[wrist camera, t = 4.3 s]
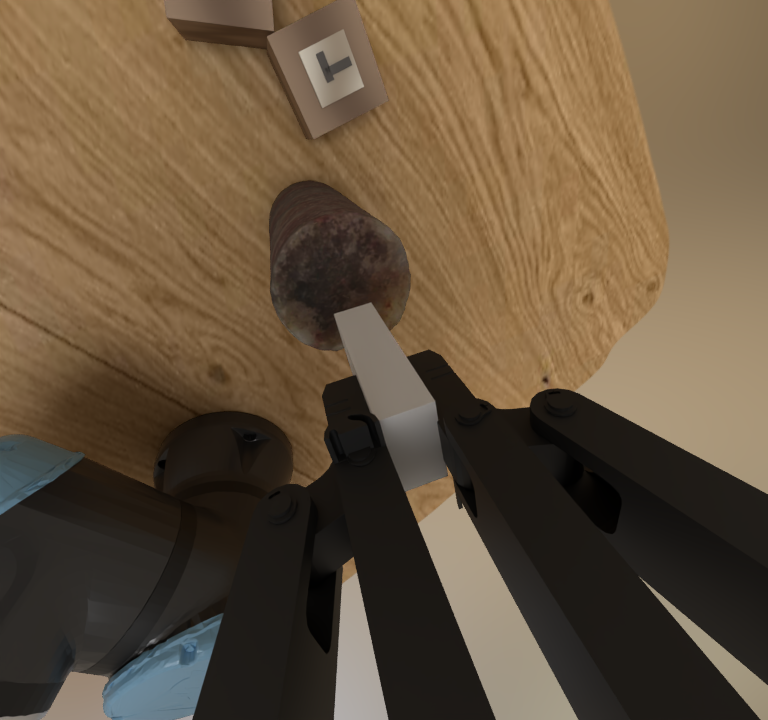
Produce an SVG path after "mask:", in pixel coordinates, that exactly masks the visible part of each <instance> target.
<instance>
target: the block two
mask: <svg viewBox="0 0 768 720" xmlns="http://www.w3.org/2000/svg"><path fill="white" fill-rule="evenodd" d="M267 55H268V57H269V59H270V62H271V64H272V66H273V68H274V70H275V72H276V74H277V77H278V79H279V81H280V83H281V85H282V87H283V89H284V92H285V94H286V96H287V98H288V100H289V102H290V105H291V107H292V109H293V111H294V113H295V115H296V117H297V120H298V122H299V124H300V126H301V128H302V130H303V132H304V135H305V137H306V139H315V138H317V137H319V136H321V135H323V134H325V133H327V132H329V131H331V130H333V129H335V128H337V127H339V126H341V125H343V124H344V123H346V122H348V121H350V120H352V119H354V118H356V117H358V116H360V115H362V114H364V113H366V112H368V111H370V110H372V109H374V108H375V107H377V106H379V105H381V104H383V103H385V102H387V101H389V99H388V96H387V93H386V90H385V87H384V84H383V81H382V78H381V75H380V72H379V69H378V66H377V63H376V60H375V57H374V54H373V51H372V48H371V45H370V42H369V39H368V37H367V34H366V31H365V28H364V25H363V22H362V19H361V16H360V13H359V10H358V7H357V4H356V1H355V0H337V1H335V2H333V3H331V4H329V5H327V6H325V7H323V8H321V9H319V10H317V11H315V12H313V13H311V14H309V15H307V16H306V17H304V18H302V19H300V20H298V21H296V22H294V23H292V24H290V25H288V26H286V27H284V28H282V29H280V30H278V31H276V32H275V33H273V34H271V35H269V36H267Z"/></svg>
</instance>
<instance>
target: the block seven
mask: <svg viewBox="0 0 768 720" xmlns="http://www.w3.org/2000/svg"><path fill="white" fill-rule="evenodd" d="M164 5H165V10H166V16H167V18H168V20H169V21H170V22H171V23H172V24H173V26H174V27H175V28H176V29H177V30H178V32H179V33H180V34H181V35H182V36H183V38H184V39H185V40H191V41H199V42H208V43H217V44H226V45H235V46H244V47H252V48H261V49H267V36H269V35H271V34H273V33H274V23H273V9H272V0H164Z"/></svg>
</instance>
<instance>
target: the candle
mask: <svg viewBox="0 0 768 720" xmlns="http://www.w3.org/2000/svg"><path fill="white" fill-rule="evenodd" d="M269 233H270V251H271V252H270V270H271V281H270V293H271V298H272V302H273V305H274V308H275V310H276V313H277V315H278V317H279V319H280V321H281V322H282V324H283V325H284V326H285V327H286V328H287V330H288V331H289V332H290V333H291V334H292V335H293V336H294V337H296V338H297V339H298V340H299V341H301V342H302V343H304V344H306V345H309V346H311V347H314V348H317V349H319V350H332V351H338V350H341V349H343V348H344V345H343V342H342V339H341V336H340V332H339V329H338V326H337V323H336V320H335V316H334V314H336V313H339V312H342V311H345V310H348V309H352V308H355V307H358V306H361V305H365V304H368V303H372V305H373V306H374V308H375V309H376V311H377V312H378V314H379V315H380V317H381V318H382V320H383V322H384V323H385V325H386V326H387V328H388V329H389V331H390V330H391V329H392V328H393V327H394V326H395V325H397V323H398V322H399V321H400V319H401V317H402V314H403V312H404V310H405V306H406V302H407V299H408V296H409V291H410V277H411V274H410V272H409V264H408V261H407V256H406V252H405V249H404V247H403V245H402V243H401V240H400V238H399V237H398V236H397V235H396V234H395V233H394V232H393V231H392V230H391V229H390V228H389V227H388V226H387V225H385V224H384V223H382V222H381V221H379V220H378V219H376V218H374V217H373V216H371V215H370V214H369V213H367V212H366V211H364V210H363V209H361V208H360V207H358V206H357V205H356V204H354V203H353V202H352V201H350V200H349V199H348V198H346V197H345V196H343V195H342V194H341V193H339V192H338V191H336V190H335V189H333V188H331V187H330V186H328V185H326V184H324V183H320V182H316V181H302V182H298V183H295V184H292V185H290V186H289V187H287V188H286V189H284V190H283V191H282V192H281V193H280V194H279V195H278V197H277V198H276V200H275V201H274V203H273V206H272V208H271V211H270V219H269Z"/></svg>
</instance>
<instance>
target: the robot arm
mask: <svg viewBox="0 0 768 720" xmlns="http://www.w3.org/2000/svg"><path fill="white" fill-rule="evenodd" d="M334 316H335V320H336V323H337V326H338V329H339V332H340V336H341V339H342V342H343V345H344V349H345V352H346V355H347V358H348V361H349V365H350V368H351V371H352V374H353V376H351V377H348V378H345V379H342V380H339V381H336V382H333V383H330V384H327V385H326V387H325V390H324V392H323V395H322V398H323V403H324V407H325V412H326V416H327V421H328V427H327V429H326V430H325V433H324V441H325V444H326V446H327V448H328V451H329V453H330V456H331V458H332V463H331V465H330V467H329V469H328V470H327V471H326V472H325V473H324V474H323V475H322V476H321V477H320V478H319V479H317V480H316V481H315V482H313V483H312V484H310V485H309V486H307V487H306V488H305V487H302V486H300V485H298V484H289V483H290V480H291V477H292V472H293V459H292V450H291V446H290V443H289V441H288V439H287V438H286V436H285V435H284V434H283V432H282V431H281V430H280V429H279V428H277V427H276V426H275V425H273V424H272V423H270V422H269V421H267V420H265V419H262V418H260V417H257V416H254V415H250V414H246V413H239V412H218V413H211V414H206V415H202V416H199V417H196V418H194V419H191V420H189V421H187V422H185V423H183V424H182V425H180V426H179V427H177V428H176V429H175V430H173V431H172V432H171V433H170V434H169V435H168V436H167V437H166V439H165V440H164V442H163V443H162V445H161V447H160V450H159V453H158V455H157V458H156V461H155V465H154V471H153V480H154V487H155V488H153V487H150V486H148V485H146V484H144V483H142V482H139V481H137V480H135V479H133V478H130V477H128V476H126V475H124V474H121V473H119V472H117V471H115V470H112V469H110V468H108V467H106V466H103V465H101V464H99V463H97V462H94V461H92V460H90V459H88V458H85V457H84V456H85V454H84V453H82V452H71V451H69V450H66V449H63V448H61V447H58V446H55V445H53V444H50V443H47V442H45V441H42V440H40V439H37V438H35V437H31V436H28V435H20V434H14V435H6V436H2V437H0V720H40V719H42V718H43V717H44V716H45V715H46V713H47V712H48V710H49V709H50V707H51V705H52V703H53V701H54V700H55V698H56V696H57V694H58V692H59V690H60V689H61V687H62V685H63V683H64V681H65V680H66V678H67V676H68V675H69V673H70V672H71V671H72V672H79V673H86V674H94V675H102V676H106V677H108V678H109V681H108V683H107V684H106V685H105V687H104V690H103V693H102V695H103V696H102V697H103V699H104V703H103V709H104V713H105V714H106V715H107V717H111V719H112V720H175V719H179V718H183V717H186V716H190V715H193V714H194V716H193V719H192V720H334V707H335V690H336V673H337V656H338V637H339V623H340V622H339V621H340V606H341V605H340V604H341V589H342V588H341V587H342V572H343V566H342V565H344V564H345V563H346V562H347V561H349V560H350V559H351V558H352V557H354V560H355V565H356V570H357V574H358V579H359V584H360V588H361V593H362V597H363V602H364V607H365V612H366V616H367V621H368V625H369V630H370V635H371V640H372V644H373V649H374V654H375V658H376V663H377V667H378V672H379V677H380V682H381V687H382V691H383V696H384V701H385V705H386V710H387V714H388V719H389V720H496V719H495V716H494V714H493V712H492V709H491V706H490V704H489V701H488V699H487V696H486V694H485V691H484V689H483V687H482V684H481V681H480V679H479V676H478V674H477V671H476V669H475V666H474V664H473V661H472V659H471V656H470V654H469V651H468V649H467V646H466V644H465V641H464V639H463V636H462V634H461V631H460V629H459V626H458V624H457V621H456V619H455V617H454V614H453V611H452V609H451V606H450V603H449V601H448V599H447V596H446V594H445V591H444V588H443V586H442V583H441V581H440V578H439V576H438V574H437V571H436V569H435V566H434V564H433V561H432V559H431V556H430V553H429V551H428V548H427V546H426V543H425V541H424V538H423V536H422V533H421V531H420V528H419V526H418V523H417V521H416V518H415V516H414V513H413V511H412V508H411V506H410V503H409V501H408V498H407V496H406V493H405V492H406V491H408V490H411V489H414V488H416V487H419V486H422V485H424V484H427V483H430V482H432V481H435V480H438V479H440V478H443V477H446V476H448V473H447V468H446V465H447V467H448V469H449V470H450V472H451V474H452V476H453V480H454V487H455V493H456V499H457V504H458V507H459V509H461V508H463V506H462V503H463V505H464V507H465V509H466V511H467V513H468V515H469V517H470V518H471V520H472V522H473V524H474V526H475V528H476V529H477V531H478V533H479V535H480V537H481V539H482V541H483V543H484V544H485V546H486V548H487V550H488V552H489V554H490V556H491V557H492V559H493V561H494V563H495V565H496V567H497V569H498V571H499V572H500V574H501V576H502V578H503V580H504V582H505V584H506V585H507V587H508V589H509V591H510V593H511V595H512V597H513V599H514V600H515V602H516V604H517V606H518V608H519V610H520V612H521V613H522V615H523V617H524V619H525V621H526V623H527V624H528V626H529V628H530V630H531V632H532V634H533V636H534V638H535V639H536V641H537V643H538V645H539V647H540V649H541V651H542V653H543V654H544V656H545V658H546V660H547V662H548V664H549V666H550V667H551V669H552V671H553V673H554V675H555V677H556V678H557V680H558V682H559V684H560V686H561V688H562V690H563V692H564V694H565V695H566V697H567V699H568V701H569V703H570V705H571V706H572V708H573V710H574V712H575V714H576V716H577V718H578V719H579V720H760V719H759V717H758V716H757V715H756V714H755V713H754V712H753V710H752V709H751V708H750V707H749V706H748V704H747V703H746V702H745V701H744V700H743V699H742V697H741V696H740V695H739V694H738V693H737V692H736V690H735V689H734V688H733V687H732V686H731V684H730V683H729V682H728V681H727V680H726V679H725V678H724V676H723V675H722V674H721V673H720V671H719V670H718V669H717V668H716V667H715V666H714V664H713V663H712V662H711V661H710V660H709V659H708V657H707V656H706V655H705V654H704V653H703V651H702V650H701V649H700V648H699V647H698V646H697V645H696V643H695V642H694V641H693V640H692V639H691V637H690V636H689V635H688V634H687V633H686V632H685V630H684V629H683V628H682V627H681V626H680V625H679V623H678V622H677V621H676V620H675V619H674V617H673V616H672V615H671V614H670V613H669V612H668V610H667V609H666V608H665V607H664V606H663V605H662V603H661V602H660V601H659V600H658V599H657V598H656V596H655V595H654V594H653V593H652V592H651V590H650V589H649V588H648V587H647V586H646V584H645V583H644V582H643V581H642V580H641V579H640V577H641V578H642V579H643V580H644V581H645V582H647V583H648V584H649V585H650V586H651V587H652V588H654V589H655V590H656V591H657V592H658V593H659V594H661V595H662V596H663V597H664V598H665V599H666V600H668V601H669V602H670V603H671V604H672V605H674V606H675V607H676V608H677V609H678V610H680V611H681V612H682V613H683V614H684V615H686V616H687V617H688V618H689V619H690V620H691V621H692V622H694V623H695V624H696V625H697V626H698V627H700V628H701V629H702V630H703V631H704V632H706V633H707V634H708V635H709V636H710V637H711V638H713V639H714V640H715V641H716V642H717V643H719V644H720V645H721V646H722V647H723V648H725V649H726V650H727V651H728V652H729V653H730V654H732V655H733V656H734V657H735V658H736V659H737V660H739V661H740V662H741V663H742V664H743V665H745V666H746V667H747V668H748V669H749V670H750V671H752V672H753V673H754V674H756V676H758V677H759V678H760V679H761V680H763V682H765V683H766V684H767V685H768V494H766V493H764V492H762V491H760V490H759V489H757V488H755V487H753V486H751V485H749V484H747V483H745V482H744V481H742V480H740V479H738V478H736V477H734V476H732V475H730V474H729V473H727V472H725V471H723V470H721V469H719V468H717V467H715V466H714V465H712V464H710V463H708V462H706V461H704V460H702V459H700V458H699V457H697V456H695V455H693V454H691V453H689V452H687V451H685V450H684V449H682V448H680V447H678V446H676V445H674V444H672V443H670V442H668V441H667V440H665V439H663V438H661V437H659V436H657V435H655V434H654V433H652V432H650V431H648V430H646V429H644V428H642V427H640V426H639V425H637V424H635V423H633V422H631V421H629V420H627V419H625V418H624V417H622V416H620V415H618V414H616V413H614V412H612V411H610V410H609V409H607V408H605V407H603V406H601V405H599V404H597V403H595V402H594V401H592V400H590V399H587V398H586V397H584V396H582V395H580V394H578V393H576V392H573V391H570V390H566V389H558V388H557V389H547V390H544V391H542V392H539V393H537V394H536V395H535V396H534V397H533V398H532V400H531V403H530V407H527V408H517V409H496V408H495V407H494V406H493V405H491V404H490V403H489V402H487V401H484V400H481V399H477V398H475V397H474V395H473V394H472V393H471V392H470V391H469V389H468V388H467V387H466V386H465V384H464V383H463V382H462V381H461V379H460V378H459V377H458V376H457V375H456V373H454V371H453V370H452V368H451V367H450V366H448V363H447V362H446V361H445V360H444V359H443V357H442V356H441V355H439V354H437V353H435V352H433V351H431V350H426V351H423V352H420V353H417V354H414V355H411V356H408V357H406V356H405V354H404V352H403V351H402V349H401V348H400V346H399V345H398V343H397V342H396V340H395V339H394V337H393V335H392V334H391V332H390V331H389V329H388V328H387V326H386V325H385V323H384V322H383V320H382V318H381V317H380V315H379V314H378V312H377V311H376V309H375V308H374V306H373V305H372V303H368V304H365V305H361V306H358V307H355V308H352V309H348V310H345V311H342V312H339V313H336V314H334Z"/></svg>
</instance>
